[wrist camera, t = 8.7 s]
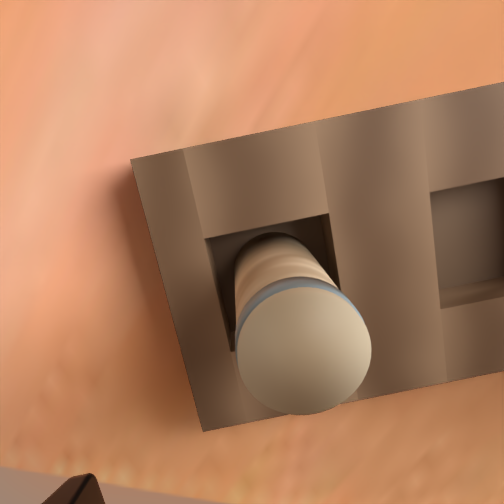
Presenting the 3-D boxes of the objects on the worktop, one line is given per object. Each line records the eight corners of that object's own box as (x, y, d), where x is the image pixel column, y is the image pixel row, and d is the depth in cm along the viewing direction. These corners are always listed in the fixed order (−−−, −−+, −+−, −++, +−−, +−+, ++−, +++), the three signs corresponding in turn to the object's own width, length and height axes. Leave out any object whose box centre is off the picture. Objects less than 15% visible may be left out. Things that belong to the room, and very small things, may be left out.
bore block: (556, 72, 18) (606, 60, 15) (560, 327, 21) (604, 350, 18) (144, 157, 18) (130, 159, 16) (206, 398, 21) (202, 431, 18)
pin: (307, 222, 18) (363, 276, 11) (320, 299, 19) (381, 401, 12) (225, 239, 18) (222, 306, 11) (242, 316, 19) (250, 428, 12)
